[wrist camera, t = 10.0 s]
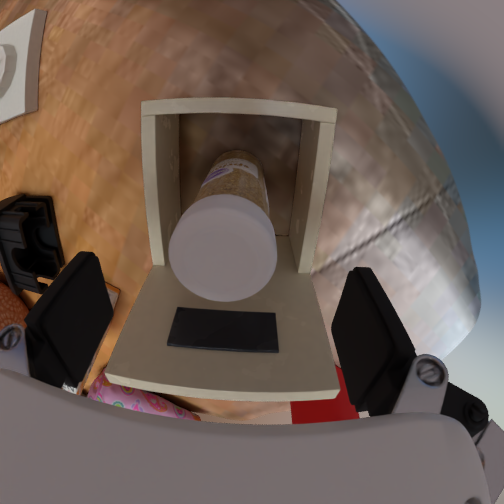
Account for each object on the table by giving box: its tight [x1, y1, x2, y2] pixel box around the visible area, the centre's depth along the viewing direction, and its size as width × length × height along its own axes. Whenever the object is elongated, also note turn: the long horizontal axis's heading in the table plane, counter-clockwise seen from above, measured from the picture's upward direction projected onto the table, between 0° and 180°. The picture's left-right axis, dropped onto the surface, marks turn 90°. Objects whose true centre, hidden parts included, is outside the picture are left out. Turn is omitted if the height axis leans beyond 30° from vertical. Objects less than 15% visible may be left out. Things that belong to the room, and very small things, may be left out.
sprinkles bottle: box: [168, 150, 277, 302], centre depth 17 cm, size 5×5×14 cm
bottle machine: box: [104, 97, 340, 401], centre depth 15 cm, size 13×12×16 cm
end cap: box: [0, 194, 65, 296], centre depth 22 cm, size 10×7×7 cm
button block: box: [0, 9, 47, 124], centre depth 13 cm, size 12×10×4 cm
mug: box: [290, 365, 359, 424], centre depth 34 cm, size 12×8×11 cm
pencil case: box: [86, 368, 201, 421], centre depth 38 cm, size 21×9×9 cm, turn 44°
